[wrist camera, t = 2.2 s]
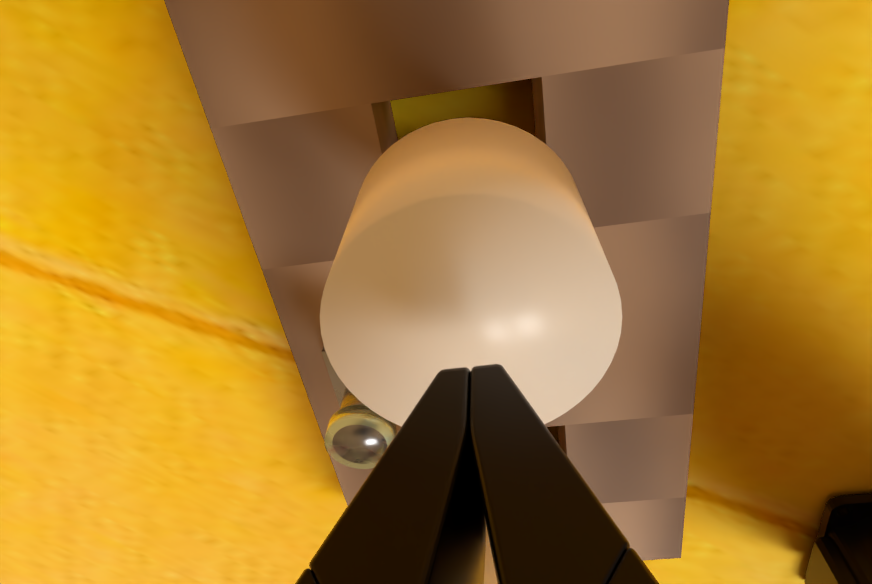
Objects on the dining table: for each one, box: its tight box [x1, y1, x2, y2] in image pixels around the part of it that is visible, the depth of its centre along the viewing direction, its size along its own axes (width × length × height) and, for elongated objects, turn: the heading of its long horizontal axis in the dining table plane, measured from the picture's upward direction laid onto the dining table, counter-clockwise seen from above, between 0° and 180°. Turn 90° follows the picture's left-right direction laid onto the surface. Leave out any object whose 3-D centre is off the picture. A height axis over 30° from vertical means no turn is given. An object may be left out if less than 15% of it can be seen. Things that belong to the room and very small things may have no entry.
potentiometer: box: [322, 346, 397, 469], centre depth 17 cm, size 2×2×4 cm
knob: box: [320, 117, 622, 427], centre depth 12 cm, size 5×5×6 cm
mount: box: [164, 0, 729, 560], centre depth 19 cm, size 12×22×3 cm, turn 9°
